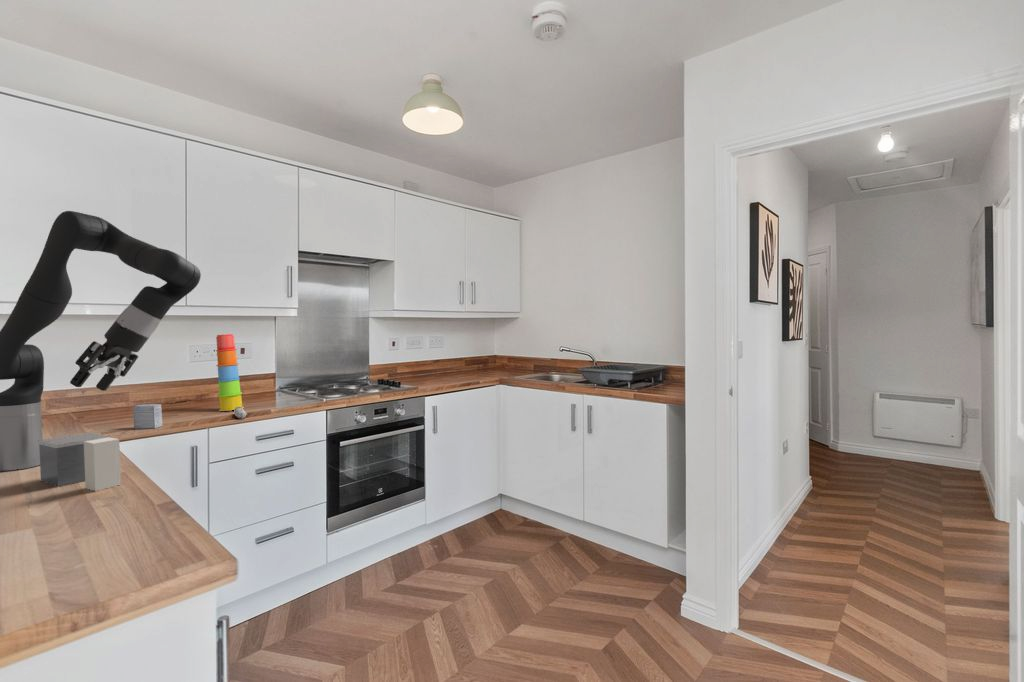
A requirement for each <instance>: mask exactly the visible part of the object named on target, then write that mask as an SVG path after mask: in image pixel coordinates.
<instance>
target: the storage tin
mask: <svg viewBox="0 0 1024 682" xmlns="http://www.w3.org/2000/svg"><path fill="white" fill-rule="evenodd" d="M108 437H109V436H108V435H104V434H99V433H93V432H86V433H78V434H71V435H65V436H59V437H58V436H57V437H53V438H51V437H50V438H46V439H43V440H39V441H38V444H39V448H40V465H39V466H40V467H39V468H40V471H39V472H40V481H41V480H42V481H44V482H43V483H45V482H47V483H46V484H48V483H50V484H49V485H51V484H53V485H52V486H54V485H56V486H55V487H57V486H60V487H64V486H67V485H68V484H69V485H72V483H73V484H77V483H81V482H85V461H84V441H90V440H96V439H102V438H108ZM42 481H41V482H42ZM63 485H64V486H63Z"/></svg>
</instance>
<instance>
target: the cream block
mask: <svg viewBox="0 0 1024 682" xmlns="http://www.w3.org/2000/svg"><path fill="white" fill-rule="evenodd" d="M120 451H121V448H120V439H119V438H115V437H110V436H108V438H102V439H96V440H90V441H84V461H85V481H84V483H85V489H86V488H87V489H86V490H89V489H90V491H92V490H95V491H96V490H100V489H104V488H107V487H111V486H116V485H120V484H121V485H122V478H121V476H122V475H121V474H122V473H121V452H120ZM95 491H94V492H95ZM100 491H101V490H100ZM96 492H97V491H96Z"/></svg>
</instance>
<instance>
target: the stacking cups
mask: <svg viewBox="0 0 1024 682" xmlns="http://www.w3.org/2000/svg"><path fill="white" fill-rule="evenodd" d="M215 339H216V350H215V351H216V357H217V364H216V367H217V375H218V378H217V379H216V380H217V382H218V393H219V394H217V397H219V409H220V410H234V409H235V408H236V407H241V403H242V404H243V400H242V399H243V398H242V397H243V396H242V394H243V392H242V391H241V383H240V379H241V377H240V376H239V367H238V365H239V363H238V361H237V353H236V352H237V351H236V350H237V348H236V345H235V344H236V343H235V336H234V334H230V333H227V334H217V335H216V338H215ZM242 408H244V409H245V406H242Z"/></svg>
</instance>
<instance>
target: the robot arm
mask: <svg viewBox="0 0 1024 682" xmlns="http://www.w3.org/2000/svg"><path fill="white" fill-rule="evenodd" d="M43 247H44V248H43V250H42V252H41V255H40V257H39V259H38V261H37V263H36V266H35V268H34V269H33V271H32V273H31V275H30V277H29V279H28V280H27V281H26V284H25V286H24V287H23V289H22V291H21V293H20V295H19V297H18V299H17V301H16V304H15V306H13V309H12V311H11V313H10V314H9V316H8V318H7V319H6V321H5V323H4V325H3V326H2V328H1V329H0V381H4V380H14V382H13V384H12V385H11V386H10V387H9V388H6V389H5V390H3V391H1V392H0V472H3V471H4V472H5V471H15V470H16V471H17V469H18V470H23V469H29V468H33V467H38V466H40V448H39V444H38V441H39V440H44V438H43V436H44V435H43V420H42V419H43V416H42V415H43V414H42V394H43V391H44V378H45V361H44V355H43V353H42V351H41V349H40V348H39V347H38V346H36V345H35V344H30V343H29V344H26V343H27V342H28V341H29V340H30V339H32V337H33V336H35V335H37V334H38V333H39V332H41V331H42V330H44V329H45V328H47V327H49V326H50V325H51V324H53V323H54V322H55V321H56V320H58V319H59V318H60V317H61V316H62V314H63V313H64V311H65V310H66V308H67V306H68V304H69V303H70V301H71V298H72V296H73V287H72V282H71V279H70V277H69V274H68V270H67V264H68V261H69V259H70V256H71V254H72V252H73V251H74V250H75V249H76V250H81V251H89V252H101V253H107V254H110V255H111V254H112V255H115V256H117V258H118V259H119V261H121V262H123V263H124V264H125V265H127V266H128V267H129V268H133V269H135V270H137V271H140V272H141V273H144V274H147V275H151V276H155V277H156V278H158V279H160V280H162V281H164V282H165V283H164V284H163V285H161V286H160V287H154V286H150V285H149V286H144V287H143V288H142V289H141V290H139V292H138V293H137V295H136V296H135V297H134V299H133V300H132V302H131V303H130V304H129V305H128V306H127V307H126V308H124V310H122V312H121V313H120V314H119V315H118V317H117V318H116V319H115V321H113V323H112V324H111V325H110V327H109V329H108V330H106V332H105V334H104V335H103V337H104V339H105V340H106V341H105V342H104V343H103V344H101V343H100V342H97V341H95V340H93V341H91V343H90V344H89V345H88V347H86V349H85V350H84V351H83V352H82V353H81V354H80V356H79V357H78V358H77V360H75V363H74V364H75V365H77V366H78V368H79V369H78V371H77V372H76V373H75V374H74V376H73V377H72V378H71V379H70V382H69V383H70V385H72V386H74V387H75V388H81V387H82V386H83V385H84V383H85V382H86V381H87V380H88V378H89V377H90V376H91V375H92V373H93V372H94V371H96V370H98V369H102V368H105V367H107V369H106V373H105V372H104V374H103V375H102V377H101V378H100V380H99V381H98V382H97V384H96V385H95V388H97V389H98V390H101V391H103V392H107V390H108V388H109V387H110V386H111V385H112V383H113V382H114V381H115V379H118V378H120V377H125V376H126V375H127V374H128V372H129V371H130V370H131V368H132V367H133V365H134V364H135V362H136V361H137V360H138V358H139V355H138V354H136V353H139V351H141V350H142V348H143V346H144V345H145V344H146V343H147V341H148V340H149V338H150V337H151V336H152V335H153V333H154V332H155V331H156V329H157V327H159V324H160V323H161V321H162V319H164V317H165V316H166V314H167V313H168V311H169V310H170V309H171V307H173V305H174V306H175V304H176V303H178V302H179V301H181V300H182V299H183V298H184V297H185V296H187V295H188V294H190V293H191V292H193V290H194V289H195V288H197V286H198V285H199V283H200V282H201V277H202V276H201V275H202V274H201V271H200V268H199V267H198V266H197V265H195V264H194V263H192V262H190V261H189V260H187V259H186V258H185V257H183V256H181V255H180V254H178V253H176V252H174V251H172V250H169V249H164V248H161V247H158V246H155V245H153V244H150V243H148V242H145V241H144V240H140V239H137V237H136V238H135V237H133V236H131V235H129V234H127V233H126V232H123V231H122V230H121V229H119V228H118V227H116V226H115V225H114V224H112V223H111V222H109V221H107V220H106V219H104V218H102V217H99V216H96V215H92V214H88V213H84V212H78V211H73V210H65V211H62V212H61V213H59V215H57V217H56V218H55V220H54V222H53V223H52V225H51V228H50V230H49V233H48V236H47V239H46V241H45V244H44V246H43ZM86 359H87V360H86Z"/></svg>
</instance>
